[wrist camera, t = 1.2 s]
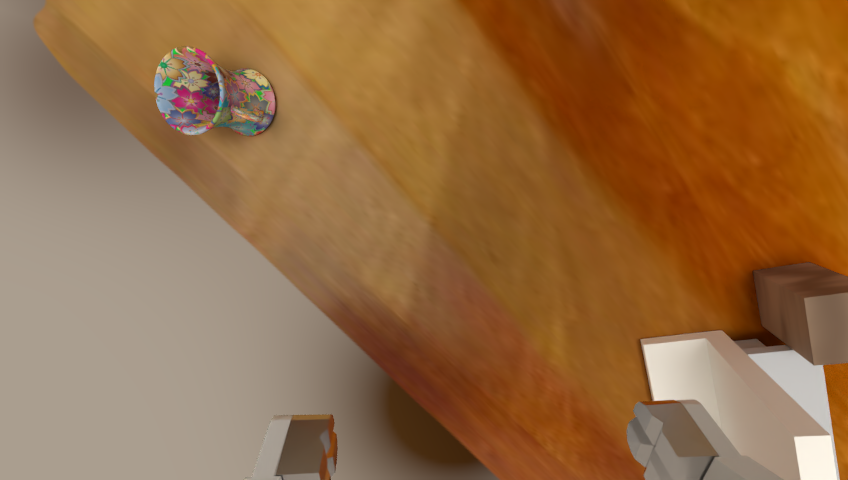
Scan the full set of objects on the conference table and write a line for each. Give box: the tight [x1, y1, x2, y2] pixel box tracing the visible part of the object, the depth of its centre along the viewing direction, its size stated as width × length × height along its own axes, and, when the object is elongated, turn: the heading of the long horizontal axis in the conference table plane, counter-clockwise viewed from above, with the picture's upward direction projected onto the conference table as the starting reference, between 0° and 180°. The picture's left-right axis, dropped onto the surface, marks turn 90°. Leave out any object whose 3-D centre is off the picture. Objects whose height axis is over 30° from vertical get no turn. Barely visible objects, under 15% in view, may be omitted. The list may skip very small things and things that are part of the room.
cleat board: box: [640, 330, 840, 480], centre depth 37 cm, size 14×16×18 cm
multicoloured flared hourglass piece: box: [154, 46, 275, 136], centre depth 50 cm, size 12×9×11 cm
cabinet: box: [753, 262, 848, 366], centre depth 38 cm, size 6×6×9 cm
